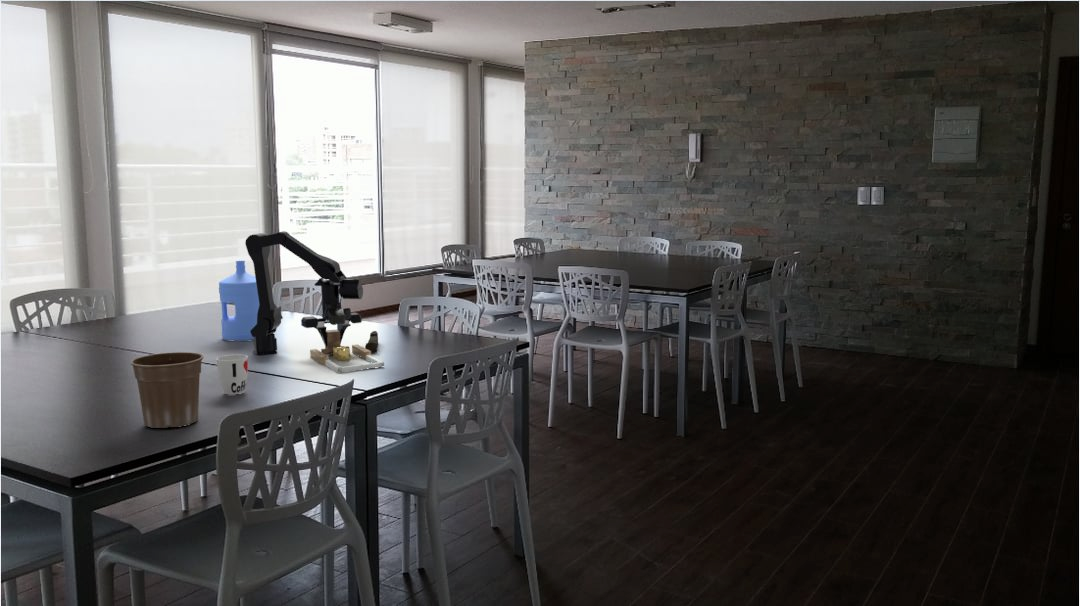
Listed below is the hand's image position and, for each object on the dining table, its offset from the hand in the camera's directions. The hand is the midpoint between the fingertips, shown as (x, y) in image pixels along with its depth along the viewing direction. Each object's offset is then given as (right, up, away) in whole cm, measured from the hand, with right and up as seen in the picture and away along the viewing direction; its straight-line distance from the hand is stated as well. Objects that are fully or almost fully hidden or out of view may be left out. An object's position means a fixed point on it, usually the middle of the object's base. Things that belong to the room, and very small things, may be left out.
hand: (332, 345), depth 296 cm
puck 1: (+4, -4, -6) cm, 8 cm away
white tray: (+11, -5, -19) cm, 22 cm away
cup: (-15, -11, -50) cm, 54 cm away
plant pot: (-21, -15, -78) cm, 82 cm away
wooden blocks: (+4, -4, -7) cm, 9 cm away
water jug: (-39, +1, +29) cm, 48 cm away
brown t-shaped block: (0, -2, 0) cm, 2 cm away
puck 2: (+6, -4, -10) cm, 12 cm away
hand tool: (+11, -2, +10) cm, 15 cm away
